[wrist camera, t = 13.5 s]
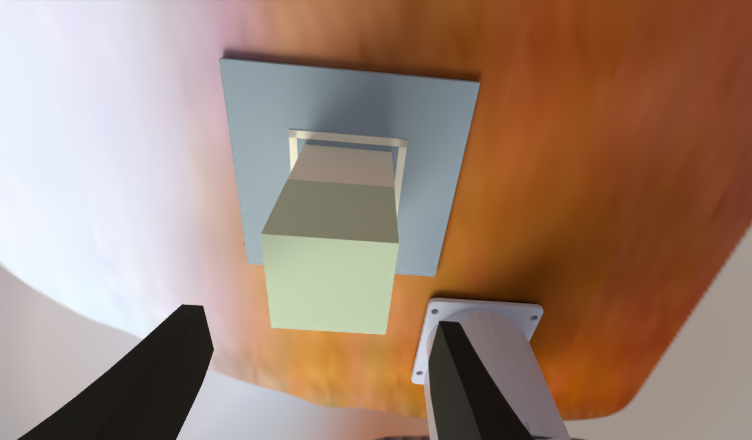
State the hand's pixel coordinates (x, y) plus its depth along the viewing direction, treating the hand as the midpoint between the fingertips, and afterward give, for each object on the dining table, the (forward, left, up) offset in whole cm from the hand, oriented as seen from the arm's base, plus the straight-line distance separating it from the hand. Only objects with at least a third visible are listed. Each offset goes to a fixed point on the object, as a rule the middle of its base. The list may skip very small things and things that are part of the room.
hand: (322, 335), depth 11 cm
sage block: (0, 0, -6) cm, 6 cm away
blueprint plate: (0, 0, -10) cm, 10 cm away
